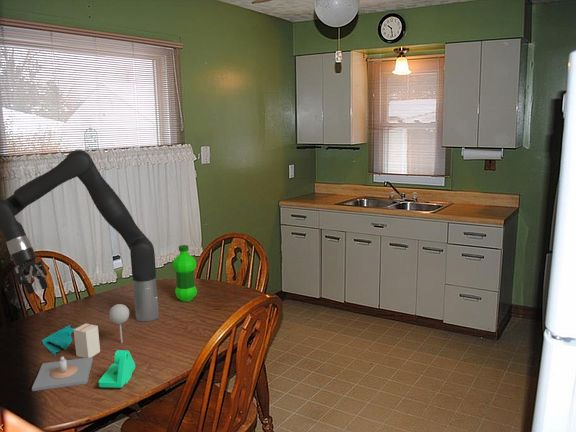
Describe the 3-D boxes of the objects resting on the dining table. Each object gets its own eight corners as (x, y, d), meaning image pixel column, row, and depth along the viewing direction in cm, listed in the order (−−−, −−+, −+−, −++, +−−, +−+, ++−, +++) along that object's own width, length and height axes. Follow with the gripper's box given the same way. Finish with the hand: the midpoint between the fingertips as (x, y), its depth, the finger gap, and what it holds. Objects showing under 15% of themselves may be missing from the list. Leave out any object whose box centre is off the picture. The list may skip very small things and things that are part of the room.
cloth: (57, 326, 204) (56, 321, 204) (91, 326, 204) (90, 321, 204) (24, 358, 179) (24, 352, 178) (63, 357, 179) (63, 351, 178)
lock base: (92, 359, 176) (91, 343, 174) (87, 383, 161) (85, 365, 159) (42, 366, 172) (40, 349, 171) (32, 391, 157) (29, 373, 155)
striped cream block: (88, 349, 184) (85, 322, 181) (100, 351, 182) (97, 325, 179) (76, 355, 179) (73, 328, 176) (88, 358, 176) (85, 331, 174)
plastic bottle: (186, 293, 237) (183, 242, 231) (202, 298, 231) (200, 245, 225) (170, 300, 229) (166, 247, 223) (186, 305, 223) (183, 250, 217)
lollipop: (135, 339, 191) (132, 302, 187) (123, 348, 184) (120, 309, 181) (119, 337, 193) (116, 300, 190) (107, 345, 186) (103, 307, 183)
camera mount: (113, 370, 169) (110, 342, 167) (135, 370, 169) (133, 342, 166) (98, 390, 157) (95, 360, 155) (122, 390, 157) (119, 360, 155)
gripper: (17, 249, 178) (36, 291, 179) (41, 244, 193) (58, 283, 193) (-1, 257, 179) (18, 299, 180) (24, 251, 193) (41, 290, 194)
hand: (38, 290), depth 186 cm, fingers open, 8 cm apart
